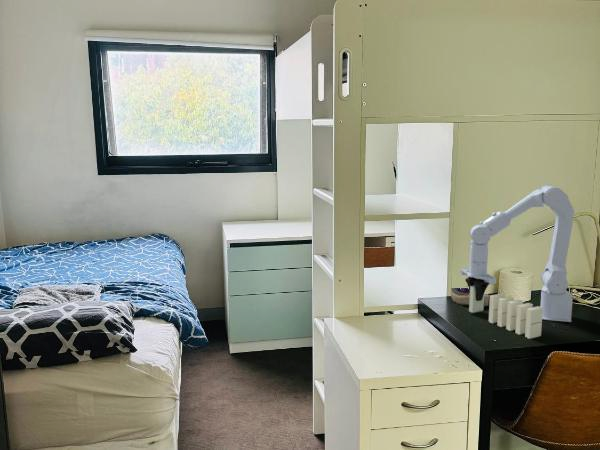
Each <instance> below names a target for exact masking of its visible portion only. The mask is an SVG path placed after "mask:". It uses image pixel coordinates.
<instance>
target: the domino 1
mask: <svg viewBox="0 0 600 450" xmlns="http://www.w3.org/2000/svg"><path fill="white" fill-rule="evenodd" d="M468 306H469V307H468V312H470V313H478V312H482V311H484V307H485V306H484V295H483V298H482V300H480V301H476V290H475V285H473V286H470V301H469V305H468Z"/></svg>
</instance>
